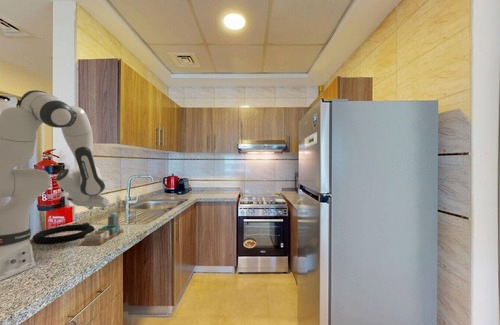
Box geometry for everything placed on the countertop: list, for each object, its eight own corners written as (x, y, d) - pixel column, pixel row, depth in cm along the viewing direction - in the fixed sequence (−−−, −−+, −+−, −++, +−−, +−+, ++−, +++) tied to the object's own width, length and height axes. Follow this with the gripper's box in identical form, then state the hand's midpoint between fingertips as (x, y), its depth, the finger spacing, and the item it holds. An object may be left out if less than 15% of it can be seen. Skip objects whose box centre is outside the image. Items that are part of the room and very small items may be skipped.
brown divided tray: (100, 245, 118) (100, 236, 118) (80, 245, 118) (80, 236, 118) (123, 231, 140) (123, 224, 140) (106, 232, 140) (106, 224, 140)
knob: (113, 230, 143) (113, 213, 143) (108, 229, 144) (108, 213, 144) (118, 228, 147) (118, 212, 147) (113, 228, 148) (113, 212, 148)
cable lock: (16, 237, 121) (67, 221, 150) (16, 244, 121) (67, 227, 151) (66, 238, 118) (108, 222, 148) (66, 246, 118) (108, 228, 148)
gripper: (102, 189, 125) (117, 205, 134) (71, 189, 129) (87, 203, 139) (95, 199, 120) (110, 214, 130) (63, 198, 125) (80, 212, 134)
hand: (98, 208), depth 134 cm, fingers open, 8 cm apart
